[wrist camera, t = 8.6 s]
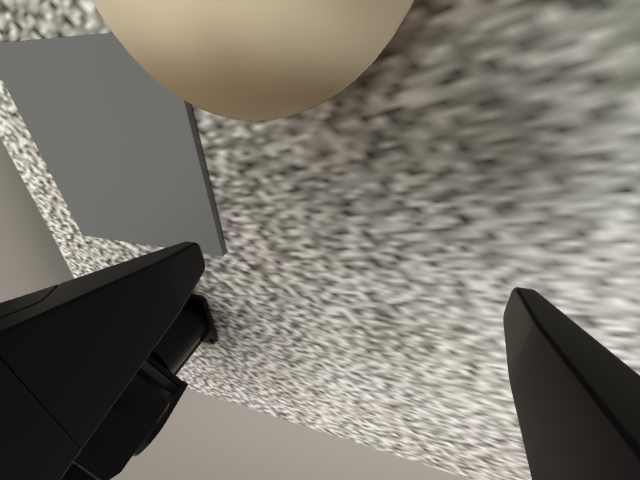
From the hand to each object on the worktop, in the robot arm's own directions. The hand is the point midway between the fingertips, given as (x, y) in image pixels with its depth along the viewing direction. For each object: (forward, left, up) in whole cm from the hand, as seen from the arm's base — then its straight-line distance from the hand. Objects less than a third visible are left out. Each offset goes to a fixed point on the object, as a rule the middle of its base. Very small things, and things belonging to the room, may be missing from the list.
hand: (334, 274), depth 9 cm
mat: (-1, +21, -12) cm, 24 cm away
